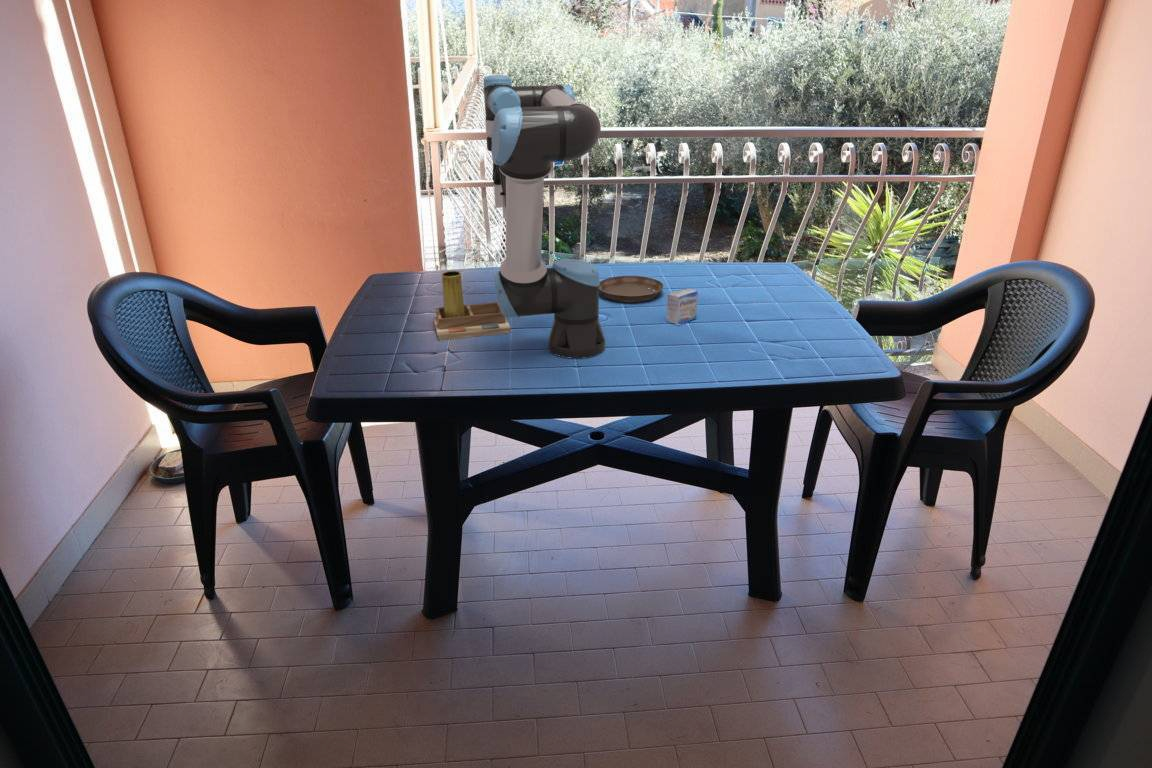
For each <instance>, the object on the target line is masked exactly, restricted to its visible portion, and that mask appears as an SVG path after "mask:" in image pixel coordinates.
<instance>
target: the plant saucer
mask: <svg viewBox="0 0 1152 768" xmlns="http://www.w3.org/2000/svg"><path fill="white" fill-rule="evenodd" d="M599 283H600V285H599V293H601V294H602V295H603V296H604V297H605V298H607V299H609V300H611V301H614V300H615V302H619V301H620V303H642V301H643V302H646V300H647V301H650V300H652V299H654V298H655V297H657V296H658V295H659V294H660V293H661V292H662V290H663V289H664V287H665V286H664V283H663V282H661V281H660V280H658V279H655V278H652V277H648V276H639V275H620V276H619V275H617V276H612V277H608V278H605V279H602V280H601V281H600V280H599ZM648 288H650V289H648ZM653 290H655V291H653Z"/></svg>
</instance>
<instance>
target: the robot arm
mask: <svg viewBox="0 0 1152 768" xmlns="http://www.w3.org/2000/svg"><path fill="white" fill-rule="evenodd" d="M482 90H483V97H484V98H483V99H484V111H485V113H484V114H485V119H484V121H485V135H487V137H486V149H487V151H488V152H491V159H492V178H491V179H492V181H493V182H492V183H493V189H494V193H493V194H494V207H495V208H496V209H499V208H501V209H502V219H505V259H504V260H503V261H502V262H500V263H501V264H500V266H499V270H497V271H495V272H494V273H493V280H494V285H495V291H496V295H497V299H498V301H497V302H499V306H500V310H501V313H502V315H504V316H505V317H506V318H513V317H514V318H515V317H517V318H521V317H527V316H539V315H541V316H542V315H551V314H553V315H554V317H553V322H552V327H551V328H550V329H551V330H550V333H549V336H548V339H547V342H548V343H547V344H548V345H547V348H549V349H548V351H549V350H550V351H551V352H552V353H551V352H550V351H549V352H550V353H551V354H553V353H554V354H553V355H555V354H557V355H560V356H559V357H561V356H564V357H563V358H565V357H571V358H570V359H584V358H583V357H587V358H591V357H590V356H592V357H595V356H598V355H600V354H601V353H603V352H604V351H605V349H606V338H605V334H604V331H603V329H602V326H601V323H600V320H599V319H600V314H599V313H600V307H599V306H600V301H599V300H600V290H599V285H600V283H599V282H600V279H599V278H600V275H599V270H598V268H597V266H595V265H594V264H592V263H590V262H589V261H586V260H585V261H584V260H581V259H573V258H560V259H556V260H554V261H553V263H552V265H551V266H552V267H547V265H546V263H545V262H544V261H543V260H542V245H543V244H542V242H543V238H542V237H543V219H544V217H543V213H544V209H543V208H544V188H545V187H544V182H545V181H544V180H545V179H544V178H546V177H547V176H548V175H549V174H551V171H552V163H559V162H570V161H574V160H577V159H579V158H581V157H583V156H585V155H587V154H588V153H589V152H590V151H591V150H592V149H593V148H594V147H595V146H596V144H597V143H598V141H599V139H600V136H601V130H602V126H601V121H600V119H599V116H598V114H597V112H595V111H594V109H592V108H591V107H590V106H588V105H586V104H584V103H578V102H577V101H576V100H575V99H576V98H575V97H576V96H575V91H574V88H573V87H572V86H571V85H569V84H555V85H554V84H552V85H551V84H549V85H516V86H513V84H512V78H511V76H509V75H504V74H503V75H502V74H493V75H486V76H484V78H483V88H482ZM603 350H604V351H603ZM602 351H603V352H602ZM599 353H600V354H599ZM597 354H598V355H597ZM557 355H556V356H557ZM594 355H595V356H594Z"/></svg>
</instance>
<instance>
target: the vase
mask: <svg viewBox="0 0 1152 768" xmlns="http://www.w3.org/2000/svg"><path fill="white" fill-rule="evenodd" d="M462 282H463V281H462V272H461V271H458V270H448V271H444V272H442V273H441V283H442V295H443V296H442V297H443V307H444V314H445V318H450V317H461V316H465V313H464V305H465V304H464V297H463V294H464V293H463V286H462V285H463V284H462Z"/></svg>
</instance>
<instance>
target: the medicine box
mask: <svg viewBox="0 0 1152 768" xmlns="http://www.w3.org/2000/svg"><path fill="white" fill-rule="evenodd" d="M698 292H699V291H697V290H695V289H692V288H690V287H689V288H688V287H686V288H684V289H680V290H675V291H673V292H669V293H667V308H666V311H667V312H666V322H667V321H670V322H672V323H675V324H681V323H683V322H687V321H689V322H691V321H690V320H692V319H695V320H697V313H698V311H697V310H698V309H697V308H698ZM692 321H693V320H692ZM670 322H669V323H670ZM672 323H671V324H672ZM687 323H688V322H687ZM675 324H674V325H675ZM681 325H682V324H681Z"/></svg>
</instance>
